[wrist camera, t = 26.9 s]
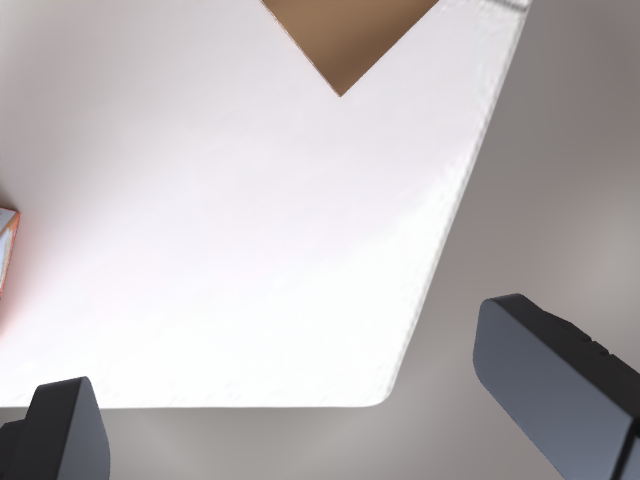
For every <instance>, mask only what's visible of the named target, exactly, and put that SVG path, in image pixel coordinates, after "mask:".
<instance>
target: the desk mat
mask: <svg viewBox="0 0 640 480" xmlns="http://www.w3.org/2000/svg"><path fill="white" fill-rule="evenodd" d="M260 1H261V2H262V3H263V5H264V6H265V7H266V8H267V9H268V11H269V12H270V13H271V14H272V16H273V17H274V18H275V19H276V20H277V22H278V23H279V24H280V25H281V27H282V28H283V29H284V30H285V31H286V33H287V34H288V35H289V36H290V38H291V39H292V40H293V41H294V43H295V44H296V45H297V46H298V47H299V49H300V50H301V51H302V52H303V54H304V55H305V56H306V57H307V58H308V60H309V61H310V62H311V63H312V65H313V66H314V67H315V68H316V70H317V71H318V72H319V73H320V74H321V76H322V77H323V78H324V79H325V81H326V82H327V83H328V84H329V85H330V87H331V88H332V89H333V90H334V92H335V93H336V94H337V95H338V96H339V97H341V96H342V95H343V94H344V93H345V92H347V91H348V90H349V89H350V88H351V87H352V86H353V85H354V84H355V83H356V82H357V81H358V80H359V79H360V78H361V77H362V76H363V75H364V74H365V73H366V72H367V71H368V70H369V69H370V68H371V67H372V66H373V65H374V64H375V63H376V62H377V61H378V60H379V59H380V58H381V57H382V56H383V55H384V54H385V53H386V52H387V51H388V50H389V49H390V48H391V47H392V46H393V45H394V44H395V43H396V42H397V41H398V40H399V39H400V38H401V37H402V36H403V35H404V34H405V33H406V32H407V31H408V30H409V29H410V28H411V27H412V26H413V25H414V24H415V23H417V22H418V21H419V20H420V19H421V18H422V17H423V16H424V15H425V14H426V13H427V12H428V11H429V10H430V9H431V8H432V7H433V6H434V5H435V4H436V3H437V2H438V1H439V0H260Z"/></svg>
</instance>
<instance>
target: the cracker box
mask: <svg viewBox="0 0 640 480" xmlns="http://www.w3.org/2000/svg"><path fill="white" fill-rule="evenodd" d="M19 218H20V212H17V211H13V210H9V209H5V208H1V207H0V298H1V294H2V290H3V286H4V282H5V277H6V273H7V269H8V265H9V261H10V257H11V252H12V248H13V244H14V239H15V235H16V231H17V227H18V223H19Z"/></svg>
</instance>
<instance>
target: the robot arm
mask: <svg viewBox="0 0 640 480" xmlns="http://www.w3.org/2000/svg"><path fill="white" fill-rule="evenodd" d="M473 364H474V368H475V372H476V374H477V376H478V378H479V380H480V382H481V383H482V384H483V386H484V387H485V388H486V389H487V390H488V391H489V392H490V393H491V394H492V396H493V397H494V398H495V399H496V401H497V402H498V403H499V404H500V405H501V406H502V407H503V409H504V410H505V411H506V412H507V413H508V414H509V415H510V417H511V418H512V419H513V420H514V421H515V422H516V423H517V425H518V426H519V427H520V428H521V429H522V430H523V432H524V433H525V434H526V435H527V436H528V437H529V439H530V440H531V441H532V442H533V443H534V444H535V445H536V447H537V448H538V449H539V450H540V451H541V452H542V453H543V455H544V456H545V457H546V458H547V459H548V460H549V462H550V463H551V464H552V465H553V466H554V467H555V469H556V470H557V471H558V472H559V473H560V474H561V475H562V477H563V478H564V479H565V480H640V374H639V373H638V372H636V371H635V370H634V369H632V368H631V367H630V366H628V365H627V364H626V363H624V362H623V361H622V360H620V359H619V358H617V357H616V356H615V355H614V354H611V355H610V354H609V352H608V350H607V349H606V348H604V347H603V346H602V345H600V344H599V343H597V342H596V341H592V340H591V337H589V336H588V335H587V334H585V333H584V332H583V331H581V330H580V329H579V328H577V327H576V326H574V325H573V324H572V323H571V322H568V321H566V320H564V319H562V318H559V317H557V316H555V315H553V314H551V313H548V312H546V311H543V310H542V309H541V308H539V307H538V306H537V305H535V304H534V303H533V302H531V301H530V300H529V299H528V298H526V297H525V296H523V295H521V294H510V295H505V296H500V297H495V298H490V299H486V300H484V301H483V302H482V304H481V306H480V311H479V318H478V325H477V331H476V339H475V344H474V351H473ZM109 475H110V449H109V443H108V438H107V434H106V431H105V428H104V424H103V421H102V418H101V414H100V411H99V408H98V404H97V401H96V398H95V394H94V391H93V388H92V385H91V382H90V380H89V378H88V377H86V376H84V377H79V378H74V379H69V380H64V381H59V382H54V383H48V384H43V385H39V386H38V387H37V389H36V390H35V393H34V395H33V398H32V401H31V403H30V406H29V409H28V411H27V414H26V417H25V419H23V420H18V421H14V422H9V423H5V424H4V425H3V426H2V427H1V428H0V480H109Z"/></svg>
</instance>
